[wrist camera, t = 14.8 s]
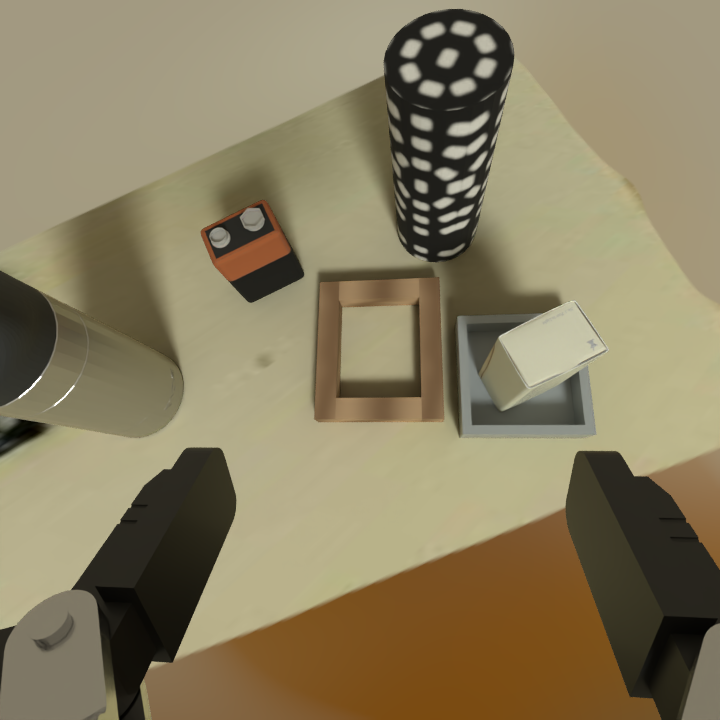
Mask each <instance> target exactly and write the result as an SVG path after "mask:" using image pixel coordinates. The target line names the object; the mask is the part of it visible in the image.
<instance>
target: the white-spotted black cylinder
mask: <svg viewBox="0 0 720 720" xmlns="http://www.w3.org/2000/svg"><path fill="white" fill-rule="evenodd" d="M513 63H514V48H513V43H512V41H511V39H510V37H509V35H508V33H507V32H506V31H505V29H504V28H503V27H502V26H501V25H500V24H498V23H497V22H496V21H495V20H493V19H492V18H490V17H488V16H486V15H484V14H481V13H478V12H475V11H470V10H463V9H447V10H440V11H435V12H431V13H428V14H425V15H423V16H421V17H418V18H417V19H414V20H413V21H411V22H410V23H408V24H407V25H405V26H404V27H403V28H402V29H401V30H400V31H399V32H398V33H397V34H396V35H395V36H394V38H393V39H392V40H391V42H390V43H389V45H388V48H387V50H386V53H385V58H384V75H385V86H386V98H387V110H388V122H389V133H390V145H391V157H392V169H393V181H394V192H395V204H396V216H397V228H398V236H399V239H400V242H401V243H402V245H403V247H404V248H405V249H406V250H407V251H408V252H409V253H410V254H411V255H413V256H414V257H416V258H418V259H421V260H424V261H428V262H443V261H447V260H451V259H453V258H455V257H457V256H459V255H460V254H462V253H463V252H465V250H466V249H467V248H468V247H469V246H470V245H471V243H472V241H473V239H474V237H475V234H476V229H477V225H478V220H479V216H480V211H481V207H482V203H483V198H484V194H485V189H486V185H487V180H488V176H489V171H490V167H491V162H492V158H493V153H494V149H495V144H496V140H497V135H498V131H499V126H500V122H501V117H502V113H503V109H504V104H505V100H506V95H507V91H508V86H509V82H510V77H511V73H512V68H513Z"/></svg>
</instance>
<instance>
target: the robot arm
mask: <svg viewBox="0 0 720 720" xmlns="http://www.w3.org/2000/svg"><path fill="white" fill-rule="evenodd" d="M182 396H183V380H182V375H181V373H180V371H179V368H178V367H177V365H176V364H175V363H174V362H173V361H172V360H171V359H170V358H169V357H167V356H166V355H164V354H162V353H160V352H158V351H156V350H154V349H152V348H150V347H148V346H146V345H144V344H143V343H141V342H139V341H137V340H135V339H133V338H131V337H129V336H127V335H125V334H123V333H121V332H119V331H117V330H115V329H113V328H111V327H109V326H107V325H105V324H104V323H102V322H100V321H98V320H96V319H94V318H92V317H90V316H88V315H86V314H84V313H82V312H80V311H78V310H76V309H74V308H72V307H70V306H68V305H66V304H64V303H62V302H60V301H58V300H56V299H54V298H52V297H50V296H48V295H47V294H45V293H43V292H41V291H39V290H37V289H35V288H33V287H31V286H29V285H27V284H25V283H23V282H21V281H19V280H17V279H15V278H13V277H11V276H9V275H8V274H6V273H4V272H2V271H0V416H5V417H12V418H18V419H24V420H30V421H36V422H42V423H48V424H54V425H60V426H66V427H72V428H78V429H84V430H90V431H96V432H101V433H106V434H113V435H119V436H125V437H134V438H140V437H144V436H149V435H151V434H153V433H155V432H157V431H159V430H160V429H162V428H163V427H165V426H166V425H167V424H168V423H169V422H170V420H171V419H172V418H173V417H174V415H175V414H176V412H177V410H178V408H179V406H180V403H181V400H182ZM131 505H132V506H131V508H128V510H127V511H126V513H125V514H124V515H123V517H122V518H121V522H120V524H117V526H116V527H115V528H114V530H113V531H112V533H111V534H110V536H109V537H108V538H107V540H106V541H105V543H104V544H103V546H102V547H101V548H100V550H99V551H98V553H97V554H96V556H95V557H94V558H93V560H92V561H91V563H90V564H89V566H88V567H87V569H86V570H85V571H84V573H83V574H82V576H81V577H80V579H79V580H78V581H77V583H76V584H75V586H74V587H73V588H72V589H71V590H70V591H65V592H62V593H59V594H56V595H54V596H52V597H50V598H48V599H46V600H44V601H43V602H41V603H40V604H38V605H37V606H35V607H34V608H33V609H32V610H30V611H29V612H28V613H27V614H26V615H25V616H24V617H23V618H22V619H21V620H20V621H19V622H18V624H17V625H16V626H13V627H9V628H5V629H1V630H0V720H152V719H151V713H150V708H149V702H148V696H147V690H146V685H145V682H144V680H143V679H144V677H145V674H146V672H147V670H148V668H149V666H150V664H151V662H152V661H155V662H170V663H172V662H173V660H174V658H175V656H176V653H177V651H178V649H179V646H180V644H181V642H182V639H183V637H184V635H185V632H186V630H187V628H188V625H189V623H190V621H191V618H192V616H193V614H194V611H195V609H196V607H197V604H198V602H199V600H200V597H201V595H202V593H203V590H204V588H205V585H206V583H207V581H208V578H209V576H210V574H211V571H212V569H213V567H214V564H215V562H216V560H217V557H218V555H219V553H220V550H221V548H222V546H223V543H224V541H225V539H226V536H227V534H228V532H229V529H230V527H231V525H232V522H233V520H234V516H235V511H236V494H235V490H234V487H233V484H232V480H231V477H230V473H229V470H228V467H227V463H226V460H225V456H224V453H223V451H222V450H221V449H220V448H186V449H185V450H184V451H183V452H182V454H181V455H180V457H179V458H178V460H177V461H176V463H175V464H174V466H173V467H172V469H164V470H163V471H161V472H160V473H159V474H158V475H157V476H155V477H154V478H153V479H152V480H150V481H149V482H148V483H147V484H146V485H144V487H143V488H142V490H141V491H140V493H139V494H138V495H137V497H136V498H135V500H134V501H133V503H132V504H131ZM566 519H567V525H568V528H569V532H570V535H571V538H572V540H573V543H574V546H575V548H576V551H577V553H578V556H579V559H580V562H581V565H582V568H583V570H584V573H585V576H586V579H587V581H588V584H589V587H590V589H591V592H592V595H593V598H594V600H595V603H596V606H597V609H598V611H599V614H600V617H601V619H602V622H603V625H604V628H605V630H606V633H607V636H608V638H609V641H610V644H611V647H612V649H613V652H614V655H615V658H616V660H617V663H618V666H619V669H620V671H621V674H622V677H623V680H624V682H625V685H626V688H627V691H628V693H629V696H630V697H640V698H653V699H654V702H655V704H656V707H657V709H658V712H659V714H660V717H661V720H720V570H719V568H718V567H717V565H716V564H715V562H714V560H713V559H712V558H711V556H710V555H709V553H708V551H707V550H706V548H705V547H704V545H703V544H702V543H700V542H699V540H698V536H697V535H696V533H695V532H694V530H693V529H692V527H691V526H690V524H689V523H686V518H685V516H684V515H683V513H682V512H681V510H680V509H679V507H678V506H677V504H676V503H675V502H674V500H673V498H672V497H671V495H669V494H668V493H667V492H665V491H664V490H663V489H662V488H661V487H660V486H658V485H657V484H656V483H655V482H654V481H652V480H651V479H650V478H649V477H640V476H633V474H632V472H631V471H630V469H629V467H628V466H627V464H626V462H625V460H624V459H623V457H622V456H621V454H620V453H618V452H617V451H578V452H577V454H576V456H575V459H574V464H573V469H572V474H571V479H570V484H569V489H568V494H567V499H566Z"/></svg>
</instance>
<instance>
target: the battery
mask: <svg viewBox="0 0 720 720" xmlns="http://www.w3.org/2000/svg"><path fill="white" fill-rule="evenodd" d="M201 236H202V238H203V241H204V243H205V246H206V248H207V250H208V253H209V255H210V258H211V260H212V263H213V265H214V266H215V267H216V268H217V269H218V270H219V271H220V273H221V274H222V275H223V276H224V277H225V278H226V279H227V280H228V281H229V282H230V283H231V284H232V285H233V286H234V287H235V289H236V290H237V291H238V292H239V293H240V294H241V295H242V296H243V297H244V298H245V299H246V300H247V301H248V302H250V303H251V302H254V301H256V300H259V299H261V298H263V297H265V296H267V295H269V294H271V293H273V292H275V291H277V290H279V289H281V288H283V287H285V286H287V285H289V284H291V283H293V282H295V281H297V280H299V279H301V278H303V276H304V272H303V270H302V268H301V266H300V264H299V262H298V260H297V258H296V256H295V253H294V251H293V249H292V247H291V245H290V244H289V242H288V240H287V238H286V236H285V234H284V232H283V231H282V229H281V227H280V225H279V223H278V221H277V219H276V218H275V216H274V214H273V212H272V210H271V208H270V206H269V205H268V203H267V202H266V201H265V200H261V201H258V202H256V203H254V204H252V205H250V206H248V207H246V208H244V209H242V210H240V211H238V212H236V213H234V214H232V215H230V216H228V217H226V218H224V219H222V220H220V221H218V222H215V223H213V224H211V225H209V226H207V227H205V228H204V229H202V230H201Z"/></svg>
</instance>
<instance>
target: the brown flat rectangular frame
mask: <svg viewBox="0 0 720 720" xmlns="http://www.w3.org/2000/svg"><path fill="white" fill-rule="evenodd" d="M393 305H419V316H420V363H421V397H393V398H340V367H341V331H342V307H364V306H393ZM314 419H315V420H316V421H318V422H443V421H444V400H443V371H442V342H441V313H440V284H439V277H435V278H411V279H386V280H362V281H338V282H320V297H319V321H318V344H317V368H316V392H315V416H314Z"/></svg>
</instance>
